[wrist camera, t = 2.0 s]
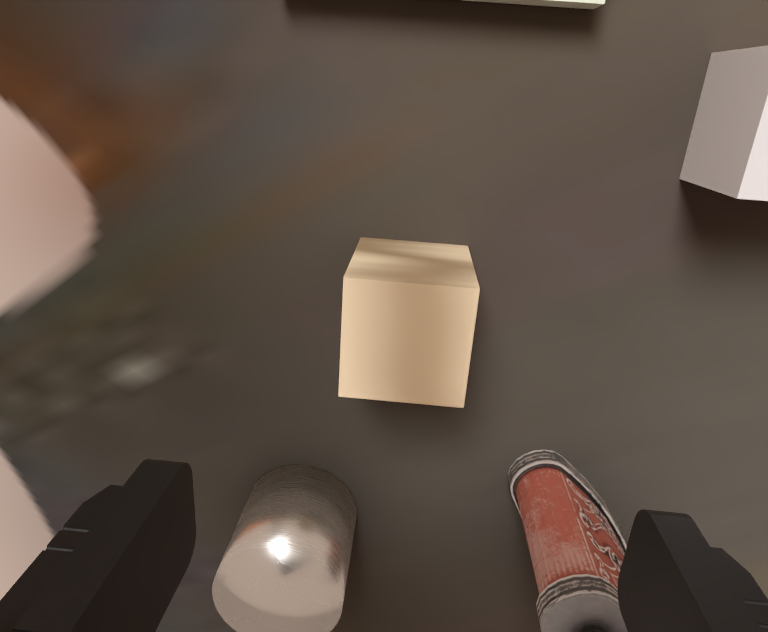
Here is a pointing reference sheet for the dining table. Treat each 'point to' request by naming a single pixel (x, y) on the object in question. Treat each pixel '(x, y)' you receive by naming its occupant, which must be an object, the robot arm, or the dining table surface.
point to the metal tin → (288, 554)
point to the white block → (732, 126)
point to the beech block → (408, 322)
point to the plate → (552, 3)
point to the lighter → (568, 545)
